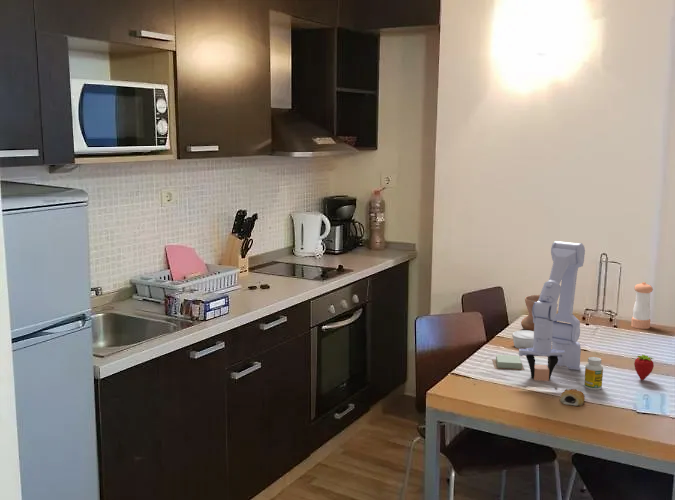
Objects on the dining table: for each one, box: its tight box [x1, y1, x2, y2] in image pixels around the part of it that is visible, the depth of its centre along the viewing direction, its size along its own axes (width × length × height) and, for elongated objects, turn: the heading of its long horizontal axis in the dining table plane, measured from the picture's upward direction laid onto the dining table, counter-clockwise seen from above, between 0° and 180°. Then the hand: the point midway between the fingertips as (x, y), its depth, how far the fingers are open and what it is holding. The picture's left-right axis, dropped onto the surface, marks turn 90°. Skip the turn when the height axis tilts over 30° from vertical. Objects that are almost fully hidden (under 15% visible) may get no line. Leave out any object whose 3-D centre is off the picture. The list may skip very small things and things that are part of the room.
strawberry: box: [633, 354, 655, 381], centre depth 229 cm, size 6×8×10 cm
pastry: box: [559, 388, 586, 407], centre depth 212 cm, size 9×7×4 cm
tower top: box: [495, 354, 523, 369], centre depth 241 cm, size 8×8×2 cm
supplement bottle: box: [584, 356, 604, 391], centre depth 223 cm, size 5×5×10 cm
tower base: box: [491, 359, 525, 371], centre depth 241 cm, size 10×10×2 cm
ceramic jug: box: [520, 294, 540, 331], centre depth 284 cm, size 18×14×14 cm
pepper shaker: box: [630, 281, 654, 330], centre depth 292 cm, size 7×7×19 cm
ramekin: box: [511, 329, 534, 349], centre depth 264 cm, size 11×11×5 cm
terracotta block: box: [533, 364, 550, 382], centre depth 228 cm, size 4×4×5 cm
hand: (540, 377), depth 228 cm, fingers closed on terracotta block, 4 cm apart
